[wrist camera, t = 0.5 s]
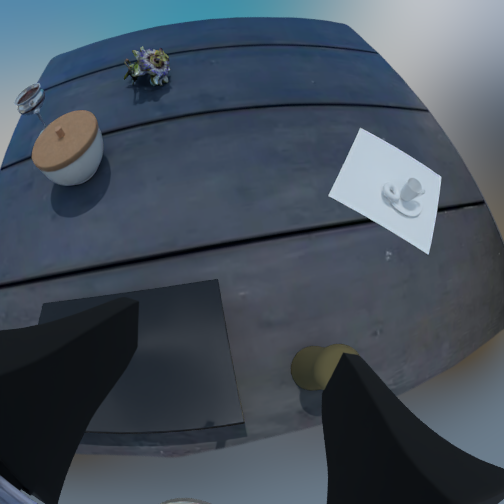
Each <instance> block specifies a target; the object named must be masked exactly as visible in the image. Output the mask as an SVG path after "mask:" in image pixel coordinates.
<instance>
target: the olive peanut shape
mask: <svg viewBox="0 0 504 504" xmlns="http://www.w3.org/2000/svg"><path fill="white" fill-rule="evenodd" d="M343 352H344V353H349V354H355V355H359V354H358V353H357V351H356V350H354V349H353V348H352V347H350V346H348V345H344V344H333V345H330V346H328V347H325V348H323V347H319V346H309V347H306V348H303V349H302V350H301V351H299V352H298V353H297V354H296V356H295V357H294V359H293V361H292V364H291V374H292V377H293V380H294V381H295V382H296V384H297V385H298V386H300V387H301V388H303V389H306V390H320V389H322V390H324V389H325V387H326V385H327V383H328V381H329V380H330V378H331V376H332V374H333V372H334V370H335V368H336V366H337V364H338V362H339V360H340V358H341V356H342V354H343ZM359 356H360V355H359Z"/></svg>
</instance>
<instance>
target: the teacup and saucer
mask: <svg viewBox="0 0 504 504" xmlns="http://www.w3.org/2000/svg"><path fill="white" fill-rule="evenodd" d="M382 193H383V195H384V196H385V198H386V199H387V200H388V201H389V202H390V203H391V205H392V206H393V207H394V208H395V209H396V210H397V211H398V212H400V213H401V214H403V215H405V216H408V217H416V216H418V215H420V214H421V213H422V211H423V209H424V199H423V195H424V194H425V193H426V189H425V188H424V187H423V185H422V183H421V182H420V181H419V180H418V179H417V178H415V177H412V176H411V177H409V178H408V179H406V178H403V177H393V178H391V179H390V180H389V181H388V182H385V183H384V184H383V186H382Z"/></svg>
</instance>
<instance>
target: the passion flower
mask: <svg viewBox="0 0 504 504" xmlns="http://www.w3.org/2000/svg"><path fill="white" fill-rule="evenodd" d="M152 49H153V48H152ZM162 50H163V49H162V48H160V49H159V50H152V51H151V50H150V49H149V50H148V51H147V50H145V51H144V48H143V46H142V47H141V49H140V52H137V51H136V50H133V51H132V52H133V54H134V55H135V57H136V58H137V60H138V61H137V62H136V63H135V62H134V64H135V65H134V64H132V65H130V66H129V67H128V65H127V64H126V62H128V64H130V61H129V60H128V59H126V60H125V61H126V62H125V64H126V66H127V67H128V68H129V70H128V72H127V73H126V75H125V77H124V80H125V79H126V78H127V77H128V76H129V75H130V76H131V77H132V84H134V82H135V80H137V78H138V77H139V76H143V75H145V74H150V76H151V79H150V84H151V85H152V86H156V85H159V86H162V82H163V83H168V78H167V74H168V71H170V67H169V62H168V61H169V59H168V58H169V57H168V56H167V55H166V54H165V53H164V52H163V51H162ZM133 65H134V68H132V67H133ZM133 71H134V72H133Z"/></svg>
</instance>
